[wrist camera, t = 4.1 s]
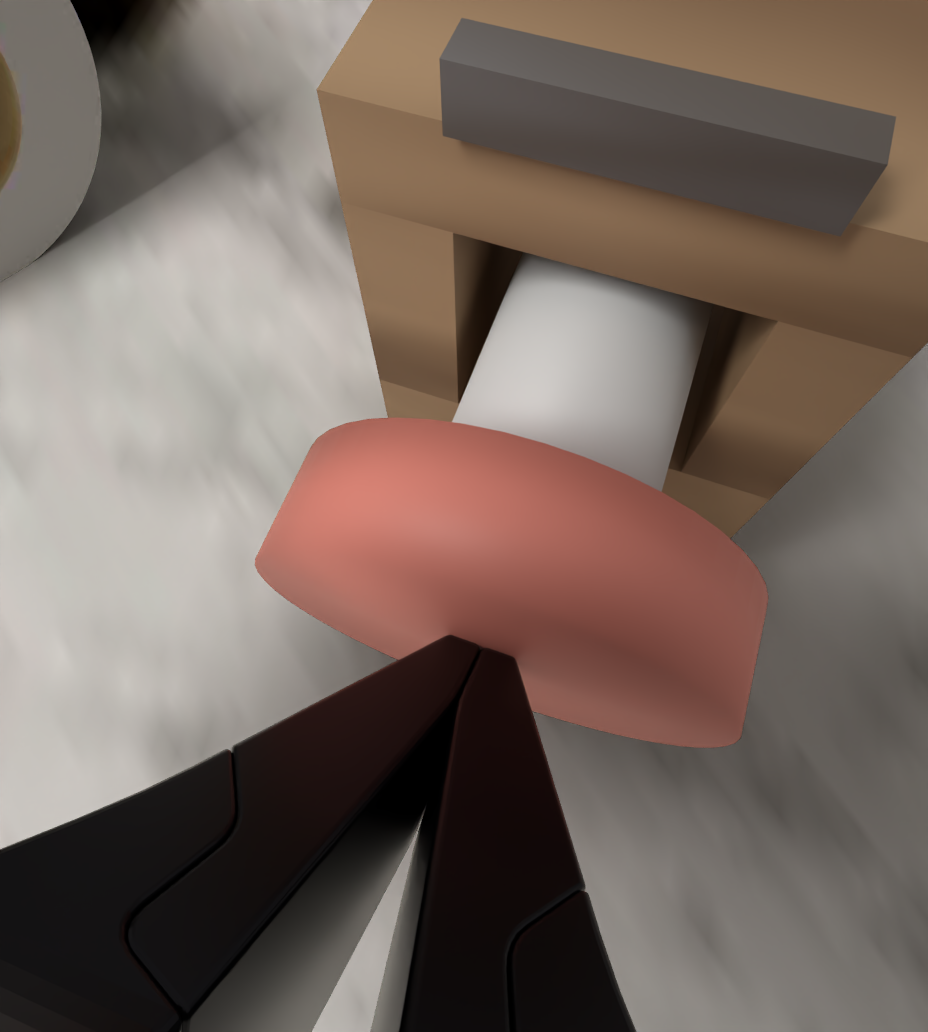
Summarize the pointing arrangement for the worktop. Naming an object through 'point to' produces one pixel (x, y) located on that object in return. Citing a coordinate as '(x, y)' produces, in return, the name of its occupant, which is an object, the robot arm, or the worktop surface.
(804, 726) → the worktop surface
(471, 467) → the knob
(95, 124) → the toilet paper
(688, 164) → the catch block
